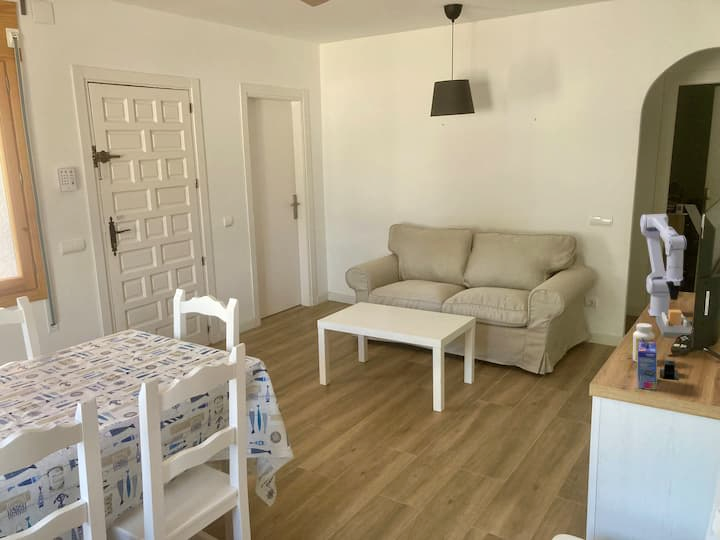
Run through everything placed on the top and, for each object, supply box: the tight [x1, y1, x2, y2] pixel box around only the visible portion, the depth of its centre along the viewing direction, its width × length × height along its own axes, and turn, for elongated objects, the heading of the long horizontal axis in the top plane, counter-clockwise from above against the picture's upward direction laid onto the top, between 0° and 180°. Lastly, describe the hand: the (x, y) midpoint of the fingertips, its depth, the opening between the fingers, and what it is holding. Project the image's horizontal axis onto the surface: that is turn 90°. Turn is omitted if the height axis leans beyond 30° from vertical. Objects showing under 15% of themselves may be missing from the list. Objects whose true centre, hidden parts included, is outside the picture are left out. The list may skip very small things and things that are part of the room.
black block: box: [659, 359, 680, 381], centre depth 182 cm, size 12×7×5 cm, turn 154°
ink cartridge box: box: [636, 338, 658, 391], centre depth 176 cm, size 10×6×14 cm, turn 155°
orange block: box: [668, 309, 683, 325], centre depth 226 cm, size 4×4×5 cm
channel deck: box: [655, 312, 693, 338], centre depth 225 cm, size 22×11×4 cm, turn 160°
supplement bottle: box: [632, 322, 656, 363], centre depth 194 cm, size 7×7×13 cm
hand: (673, 299), depth 229 cm, fingers closed
